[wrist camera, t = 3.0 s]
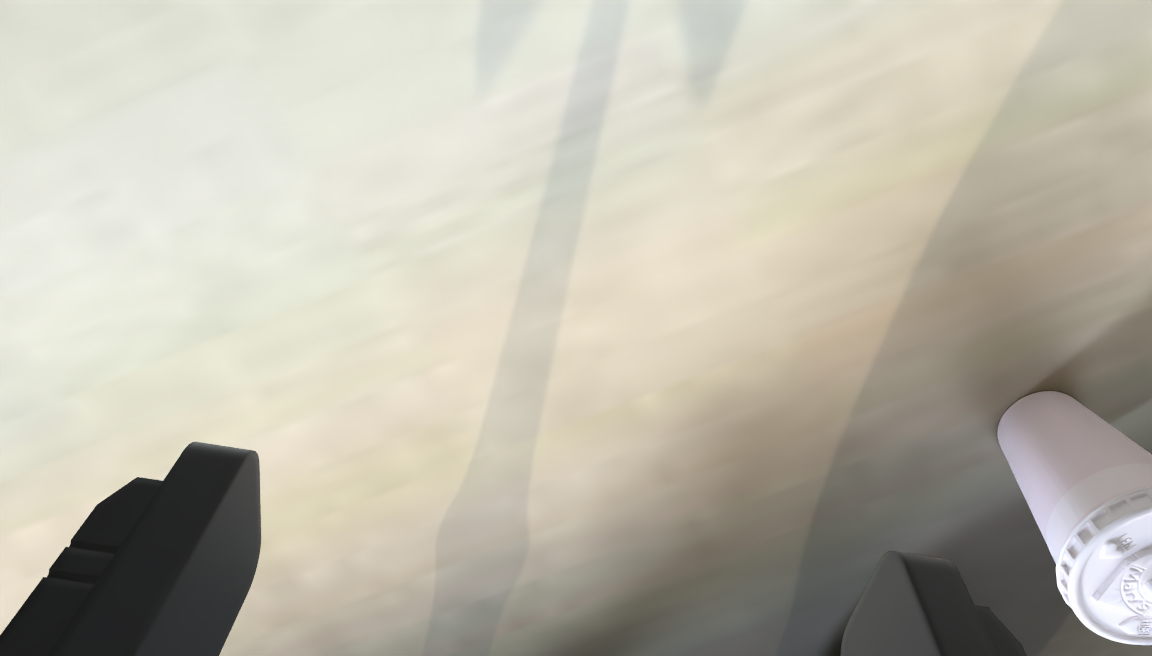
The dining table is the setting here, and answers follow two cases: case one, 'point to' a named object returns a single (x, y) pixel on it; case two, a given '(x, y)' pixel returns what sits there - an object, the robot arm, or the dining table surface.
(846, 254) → the dining table surface
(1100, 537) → the smoothie
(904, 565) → the robot arm
